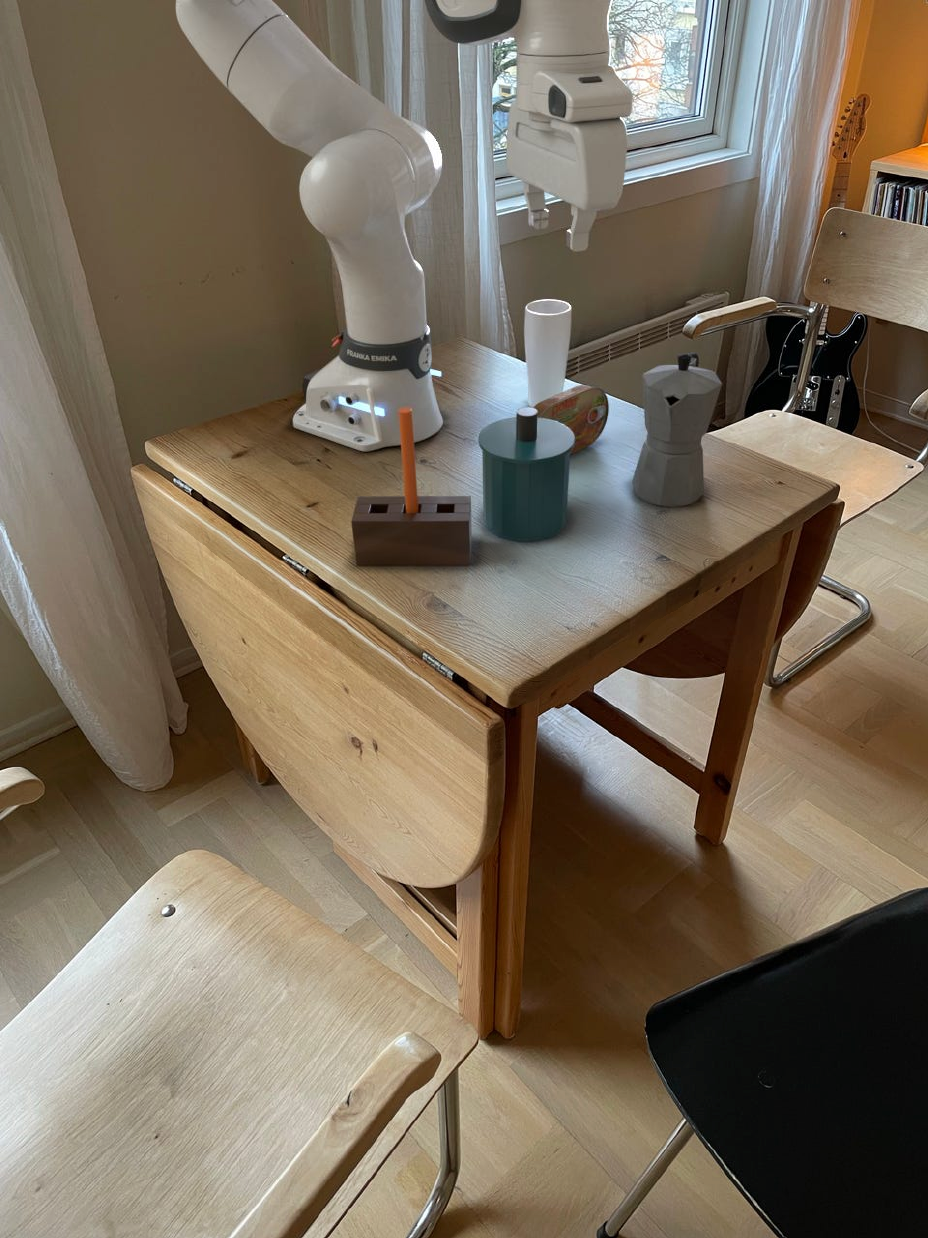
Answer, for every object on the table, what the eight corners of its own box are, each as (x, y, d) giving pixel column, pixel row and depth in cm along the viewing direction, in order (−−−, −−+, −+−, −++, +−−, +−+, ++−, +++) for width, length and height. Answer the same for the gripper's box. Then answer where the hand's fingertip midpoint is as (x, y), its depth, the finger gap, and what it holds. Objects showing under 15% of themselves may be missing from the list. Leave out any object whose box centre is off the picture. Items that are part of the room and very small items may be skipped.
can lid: (462, 457, 102) (461, 423, 99) (501, 418, 110) (501, 385, 107) (553, 476, 98) (555, 440, 95) (587, 434, 106) (590, 400, 103)
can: (470, 530, 108) (468, 451, 102) (503, 492, 115) (504, 416, 109) (548, 549, 105) (551, 468, 98) (578, 508, 112) (582, 430, 105)
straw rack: (362, 539, 107) (357, 496, 104) (471, 539, 107) (470, 495, 103) (356, 565, 103) (351, 521, 99) (470, 565, 102) (469, 521, 99)
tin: (533, 472, 119) (535, 414, 114) (517, 464, 121) (518, 406, 116) (608, 437, 127) (613, 381, 122) (592, 430, 129) (595, 374, 124)
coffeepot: (695, 521, 109) (717, 380, 98) (619, 508, 111) (632, 370, 100) (715, 464, 120) (736, 332, 109) (645, 454, 123) (660, 324, 112)
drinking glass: (564, 415, 133) (569, 315, 124) (519, 413, 134) (521, 313, 125) (569, 397, 138) (574, 299, 129) (526, 394, 139) (528, 298, 130)
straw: (407, 554, 105) (396, 411, 94) (412, 548, 106) (402, 406, 95) (417, 556, 104) (407, 413, 93) (423, 550, 105) (414, 408, 94)
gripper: (491, 77, 93) (492, 219, 101) (579, 102, 77) (572, 267, 86) (546, 73, 94) (543, 212, 103) (643, 97, 79) (630, 259, 87)
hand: (556, 238), depth 94 cm, fingers open, 8 cm apart
